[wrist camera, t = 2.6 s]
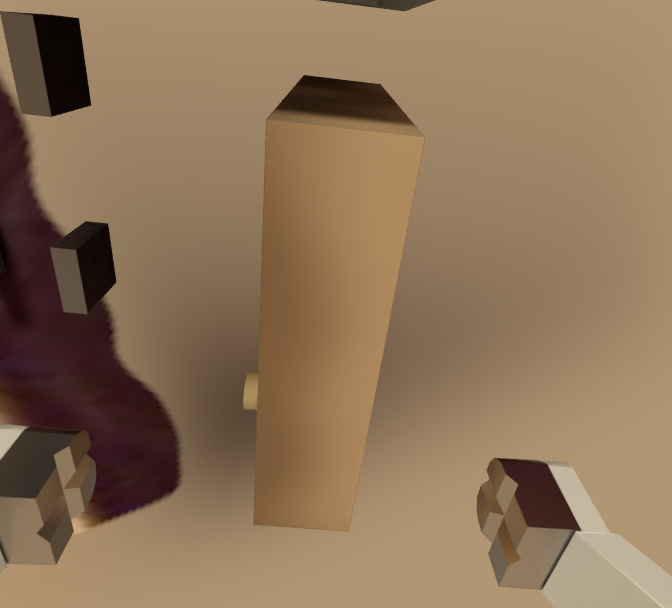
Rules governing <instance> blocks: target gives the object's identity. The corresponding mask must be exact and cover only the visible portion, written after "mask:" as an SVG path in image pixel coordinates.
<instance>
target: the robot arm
mask: <svg viewBox="0 0 672 608" xmlns="http://www.w3.org/2000/svg"><path fill="white" fill-rule="evenodd" d="M90 446H91V443H90V439H89V435H88V432H85V431H79V430H68V429H57V428H47V427H36V426H20V425H9V424H4V425H2V426H0V572H1V571H2V570H4V569H5V568H6V567H7V565H6V564H36V565H38V564H39V565H56V564H57V562H58V560H59V558H60V556H61V555H62V553H63V551H64V549H65V547H66V545H67V543H68V541H69V539H70V537H71V536H72V534H73V532H74V530H73V526H72V522H71V520H72V519H73V518H74V517H76V516H77V515H79V514H80V513H81V512H83V511H84V510H85V508H86V506H87V504H88V502H89V500H90V498H91V496H92V493H93V489H94V485H95V481H96V467H95V462H94V460H93V459H92V458H91V457H89V456H88V455H87V454H86V453H87V451H88V449H89V447H90ZM487 473H488V476H489V480H488V481H486V482H485V483H484V484H482V485H481V487H480V490H479V493H478V496H477V515H478V521H479V524H480V528H481V531H482V533H483V534H484V535H485V536H486V537H487V538H488V539H489V540H490V541H491V542H492V546H491V548H490V551H489V557H490V560H491V563H492V567H493V570H494V572H495V576H496V579H497V582H498V585H499V587H512V588H524V589H537V590H542V591H541V593H542V594H543V595H544V596H545V597H546V599H547V600H548V601H549V602H550V603H551V605H552V606H553V607H554V608H672V577H671V576H670V575H669V574H667V573H666V572H665V571H664V570H662V569H661V568H660V567H658V566H657V565H656V564H655V563H654V562H652V561H651V560H650V559H648V558H647V557H646V556H645V555H643V554H642V553H641V552H640V551H638V550H637V549H636V548H634V547H633V546H632V545H631V544H630V543H628V542H627V541H626V540H625V539H623V538H622V537H621V536H620V535H618V534H613V533H610V532H609V530H608V529H607V527H606V525H605V524H604V522H603V520H602V518H601V517H600V515H599V513H598V511H597V510H596V508H595V506H594V504H593V503H592V501H591V499H590V498H589V496H588V494H587V492H586V491H585V489H584V487H583V486H582V484H581V482H580V480H579V479H578V477H577V475H576V474H575V472H574V470H573V468H572V467H571V466H570V465H569V464H568V463H567V462H556V461H539V460H524V459H507V458H494V459H493V460H492V461H491V462H490V463H489V466H488V468H487Z"/></svg>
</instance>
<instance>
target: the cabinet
mask: <svg viewBox="0 0 672 608" xmlns="http://www.w3.org/2000/svg"><path fill="white" fill-rule="evenodd" d="M321 1H329V2H336V3H344V4H352V5H360V6H368V7H376V8H384V9H392V10H399V11H407V10H409V9H412V8H415V7H417V6H420V5H423V4H426V3H429V2H431V1H434V0H321Z"/></svg>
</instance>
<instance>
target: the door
mask: <svg viewBox="0 0 672 608" xmlns="http://www.w3.org/2000/svg"><path fill="white" fill-rule="evenodd" d="M424 141H425V137H424V136H423V135H422V133H421V132H420V131H419V130H418V129H417V127H416V126H415V125H414V124H413V123H412V121H411V120H410V119H409V118H408V117H407V116H406V114H405V113H404V112H403V111H402V110H401V108H400V107H399V106H398V105H397V104H396V102H395V101H394V100H393V99H392V98H391V96H389V94H388V93H387V92H386V90H384V88H383V87H382V86H381V84H373V83H365V82H357V81H348V80H340V79H332V78H324V77H315V76H306V75H304V76H303V77H302V78H301V79H300V81H299V82H298V83H297V84H296V85H295V87H294V88H293V89H292V90H291V91H290V92H289V93H288V95H287V96H286V97H285V98H284V99H283V100H282V102H281V103H280V104H279V105H278V106H277V107H276V109H275V110H274V111H273V112H272V113H271V114H270V116H269V117H268V118H267V119H266V143H265V175H264V207H263V239H262V272H261V304H260V306H261V307H260V336H259V367H258V369H259V371H258V373H257V372H248V374H247V378H246V383H245V389H244V401H243V403H244V404H243V405H244V409H249V410H257V431H256V464H255V497H254V525H267V526H281V527H295V528H309V529H323V530H337V531H349V527H350V522H351V517H352V512H353V507H354V502H355V496H356V491H357V486H358V481H359V476H360V471H361V466H362V460H363V455H364V450H365V445H366V440H367V435H368V429H369V424H370V419H371V414H372V409H373V404H374V399H375V393H376V388H377V382H378V377H379V373H380V368H381V362H382V357H383V352H384V347H385V342H386V337H387V332H388V326H389V321H390V316H391V311H392V306H393V301H394V295H395V290H396V285H397V280H398V275H399V270H400V264H401V259H402V254H403V249H404V244H405V239H406V233H407V229H408V223H409V218H410V213H411V208H412V202H413V198H414V193H415V187H416V182H417V177H418V171H419V167H420V162H421V156H422V151H423V146H424Z"/></svg>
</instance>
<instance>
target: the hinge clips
mask: <svg viewBox="0 0 672 608" xmlns="http://www.w3.org/2000/svg"><path fill="white" fill-rule="evenodd" d="M0 15H1V19H2V24H3V29H4V33H5V38H6V43H7V47H8V52H9V57H10V62H11V66H12V71H13V75H14V80H15V85H16V90H17V94H18V99H19V104H20V108H21V113H22V114H31V115H41V116H48V117H52V116H56V115H59V114H62V113H67V112H70V111H74V110H77V109H81V108H84V107H88V106H91V101H90V94H89V86H88V79H87V73H86V65H85V59H84V51H83V44H82V37H81V30H80V23H79V18H73V17H64V16H56V15H46V14H32V13H17V12H2V11H0ZM50 249H51V254H52V259H53V263H54V268H55V273H56V278H57V282H58V287H59V292H60V296H61V301H62V306H63V310H64V312H70V313H81V314H88V313H89V312H90V311H91V310H92V309H93V308H94V306H95V305H96V304H97V303H98V302H99V301H100V300H101V299H102V298H103V296H104V295H105V294H106V293H107V292H108V291H109V290H110V289H111V288H112V286H113V285H114V284H115V283H116V276H115V270H114V262H113V255H112V248H111V241H110V234H109V227H108V224H107V223H97V222H87V221H86V222H84V223H83V224H82V225H80V226H79V227H77V228H76V229H74V230H73V231H72V232H70V233H69V234H68V235H66V236H65V237H64V238H62V239H61V240H59V241H58V242H57V243H55V244H54V245H53V246H51V247H50ZM5 272H6V269H5V265H4V262H3V258H2V254H1V251H0V276H1V275H2V274H3V273H5Z"/></svg>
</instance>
